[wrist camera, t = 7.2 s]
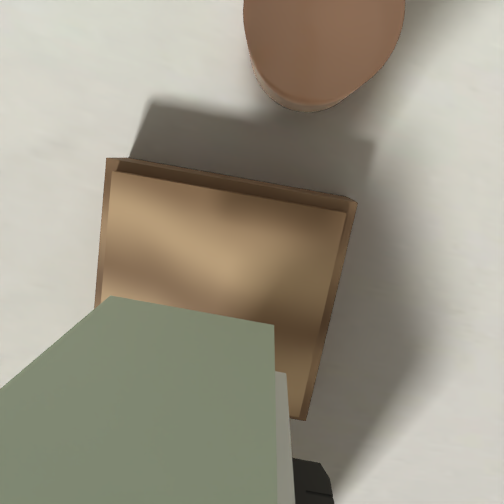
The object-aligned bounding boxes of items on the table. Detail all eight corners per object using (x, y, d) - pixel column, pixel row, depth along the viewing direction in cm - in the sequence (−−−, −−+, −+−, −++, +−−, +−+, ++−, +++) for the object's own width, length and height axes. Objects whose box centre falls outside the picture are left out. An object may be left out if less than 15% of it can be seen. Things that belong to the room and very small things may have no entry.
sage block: (110, 295, 14) (-244, 596, 4) (273, 325, 14) (280, 695, 4) (97, 435, 16) (-193, 899, 6) (246, 463, 16) (204, 974, 6)
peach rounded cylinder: (261, -29, 22) (258, -96, 16) (383, -7, 22) (424, -66, 16) (241, 101, 24) (231, 83, 18) (354, 121, 24) (382, 110, 18)
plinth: (128, 157, 25) (101, 157, 21) (346, 196, 25) (360, 204, 21) (109, 355, 28) (83, 386, 24) (301, 390, 28) (306, 427, 24)
